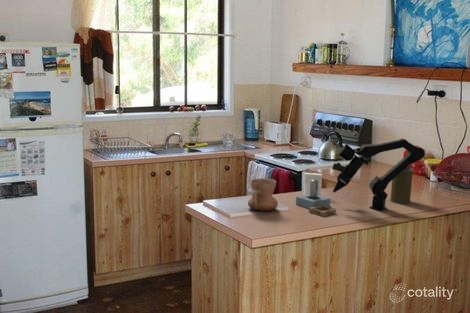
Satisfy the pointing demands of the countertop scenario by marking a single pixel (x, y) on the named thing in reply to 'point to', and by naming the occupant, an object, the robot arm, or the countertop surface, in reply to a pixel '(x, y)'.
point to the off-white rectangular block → (307, 182)
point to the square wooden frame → (324, 209)
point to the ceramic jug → (263, 194)
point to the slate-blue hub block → (312, 201)
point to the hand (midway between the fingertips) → (333, 191)
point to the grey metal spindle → (313, 189)
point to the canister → (402, 187)
